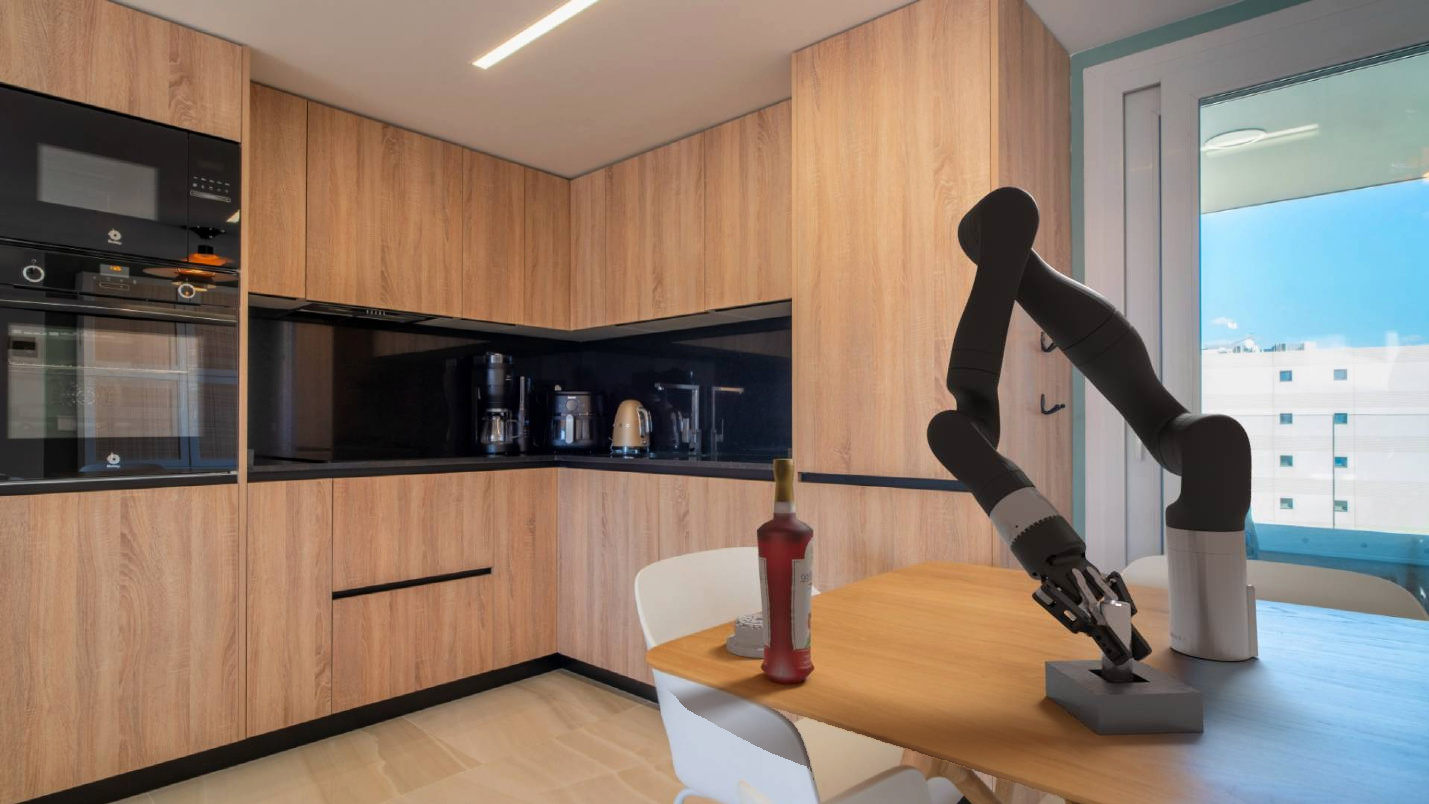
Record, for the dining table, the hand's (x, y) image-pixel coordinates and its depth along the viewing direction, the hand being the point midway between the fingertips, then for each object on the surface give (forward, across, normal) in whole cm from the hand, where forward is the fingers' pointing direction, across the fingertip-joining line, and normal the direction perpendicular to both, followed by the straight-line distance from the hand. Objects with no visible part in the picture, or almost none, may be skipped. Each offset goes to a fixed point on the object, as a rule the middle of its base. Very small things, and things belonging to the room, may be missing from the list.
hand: (1134, 658), depth 78 cm
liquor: (-16, -26, +26) cm, 40 cm away
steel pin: (+2, 0, +5) cm, 5 cm away
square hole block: (+3, 0, +6) cm, 7 cm away
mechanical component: (-25, -22, +35) cm, 48 cm away
